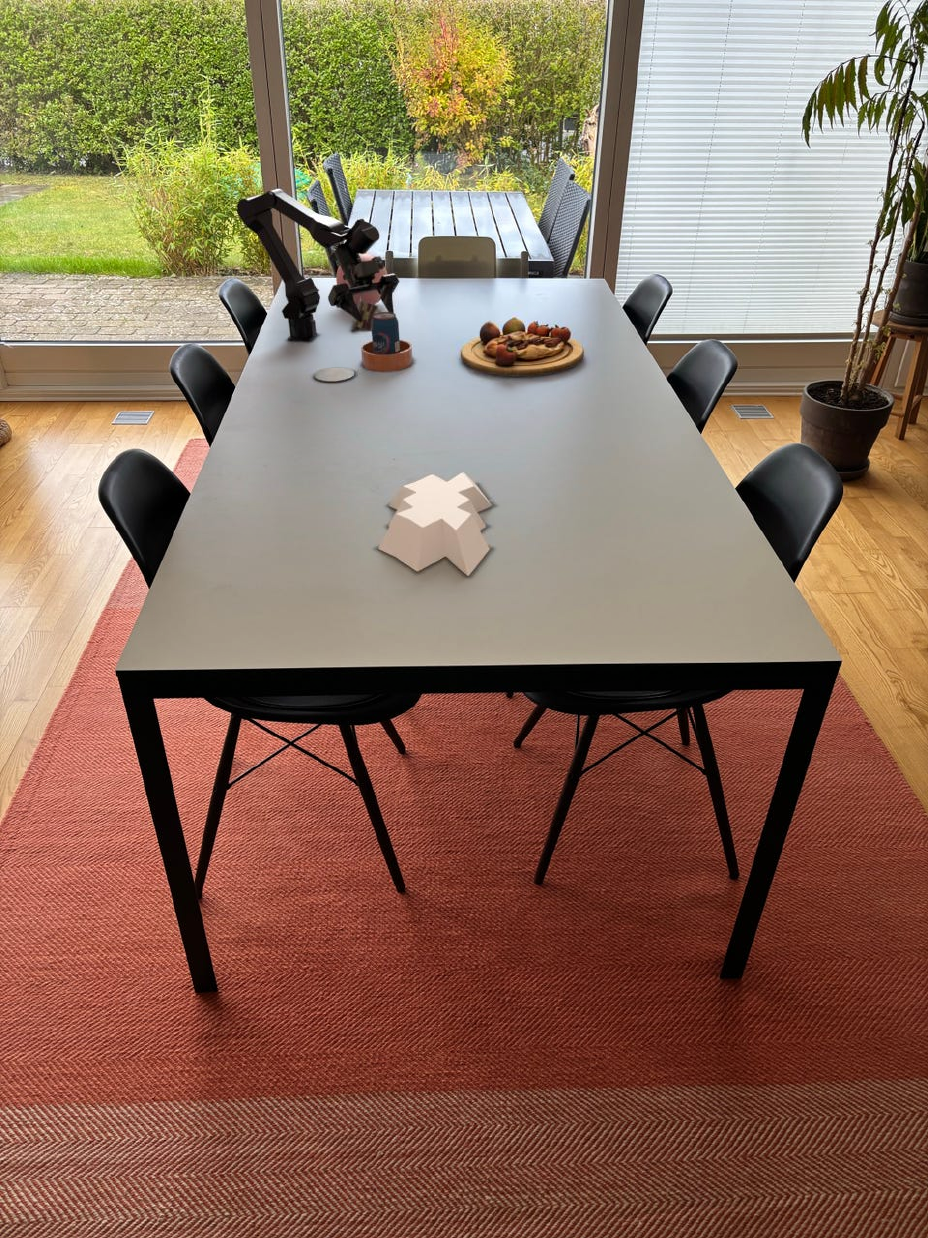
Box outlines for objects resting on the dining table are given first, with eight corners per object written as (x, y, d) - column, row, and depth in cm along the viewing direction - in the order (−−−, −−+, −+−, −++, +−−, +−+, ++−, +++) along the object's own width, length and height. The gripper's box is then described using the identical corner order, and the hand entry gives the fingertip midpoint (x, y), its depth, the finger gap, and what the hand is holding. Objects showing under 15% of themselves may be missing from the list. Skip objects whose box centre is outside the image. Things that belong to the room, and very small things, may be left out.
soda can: (368, 363, 254) (365, 317, 247) (383, 355, 259) (379, 309, 252) (391, 367, 251) (388, 320, 244) (405, 359, 256) (403, 312, 249)
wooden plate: (538, 388, 237) (539, 354, 233) (435, 363, 254) (434, 331, 249) (606, 351, 258) (608, 320, 254) (507, 331, 275) (507, 301, 270)
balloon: (334, 318, 288) (329, 264, 279) (341, 299, 305) (337, 247, 296) (386, 317, 288) (383, 263, 279) (391, 298, 304) (388, 246, 296)
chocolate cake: (376, 333, 276) (385, 295, 279) (351, 327, 275) (361, 288, 278) (373, 348, 286) (382, 310, 288) (349, 341, 285) (359, 304, 287)
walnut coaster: (308, 381, 245) (308, 379, 244) (323, 367, 253) (323, 366, 252) (345, 384, 242) (345, 382, 242) (360, 370, 250) (359, 368, 250)
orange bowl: (355, 369, 251) (354, 353, 249) (372, 352, 262) (371, 337, 259) (403, 372, 248) (402, 356, 246) (418, 356, 259) (417, 340, 256)
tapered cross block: (393, 484, 195) (392, 458, 192) (493, 484, 194) (493, 458, 191) (371, 575, 166) (368, 547, 163) (488, 576, 165) (488, 547, 162)
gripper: (328, 252, 242) (354, 307, 240) (393, 240, 250) (418, 293, 249) (317, 278, 252) (342, 331, 250) (379, 266, 260) (404, 317, 259)
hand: (377, 318), depth 252 cm, fingers open, 9 cm apart
